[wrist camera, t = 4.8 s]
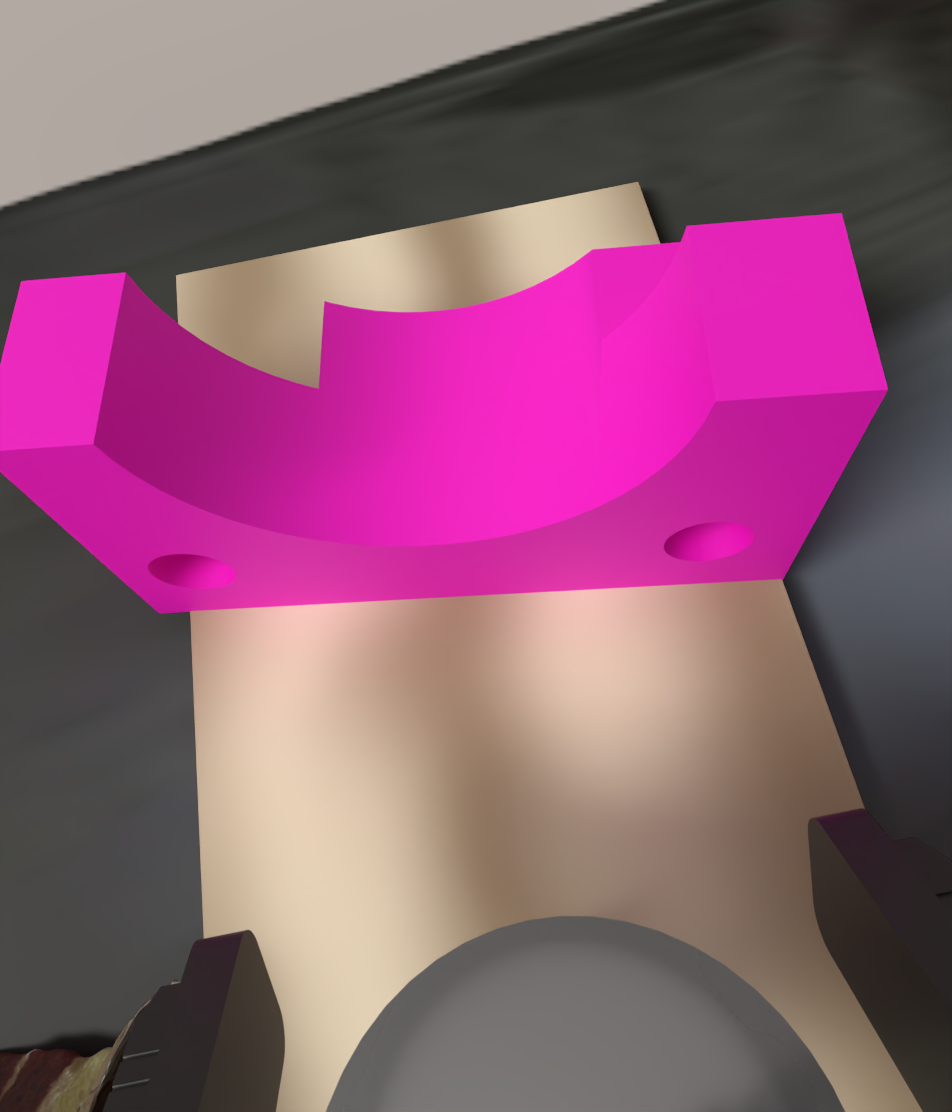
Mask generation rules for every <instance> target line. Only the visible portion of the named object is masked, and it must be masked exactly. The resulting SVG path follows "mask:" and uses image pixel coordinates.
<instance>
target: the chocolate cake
mask: <svg viewBox="0 0 952 1112" xmlns="http://www.w3.org/2000/svg"><path fill="white" fill-rule="evenodd" d="M177 983H181V982H180V981H178V980H176V979H174V980H173V982H172V983H171V985H172V984H177ZM153 997H154V996H153ZM153 997H152V998H153ZM152 998H151V999H152ZM151 999H150V1000H149V1001H147V1002H145V1003H144V1004H143V1006H142V1007H141V1009H140V1010H139V1011H138V1012H137V1013H136V1015H135V1016H134V1018H133V1020H130V1022H129V1023H128V1024H127V1025H126V1026H125V1028H124V1029H123V1030H122V1031H121V1033H120V1035H119V1037H118V1038H117V1040H116V1041H115V1043H114V1045H113V1047H107V1048H104V1049H103V1050H101V1051H99V1052H98V1053H97V1054H95V1055H93V1056H92V1057H81V1056H80V1055H79V1053H77V1052H75V1051H73V1050H70V1049H60V1048H59V1049H53V1050H49V1051H43V1050H40V1049H34V1050H32V1051H31V1052H29V1053H25V1054H15V1053H9V1052H4V1053H0V1112H102V1111H103V1108H104V1106H105V1103H106V1100H107V1097H108V1095H109V1092H112V1090H113V1087H112V1084H113V1081H114V1078H115V1075H116V1072H117V1070H118V1067H119V1064H120V1062H123V1053H124V1050H125V1048H126V1045H127V1042H128V1039H129V1037H130V1034H131V1031H132V1028H133V1026H134V1023H135V1020H136V1019H137V1017H138V1016H139V1015H140V1014H141V1012H142V1011H143V1010H144V1008H145V1007H146V1006H147V1004H148V1003H149V1002H150V1001H151Z"/></svg>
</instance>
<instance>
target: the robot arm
mask: <svg viewBox="0 0 952 1112" xmlns="http://www.w3.org/2000/svg"><path fill="white" fill-rule="evenodd" d="M808 841H809V854H810V866H811V879H812V892H813V904H814V910H815V915H816V919H817V923H818V926H819V929H820V932H821V935H822V938H823V940H824V943H825V945H826V947H827V949H828V951H829V953H830V955H831V956H832V958H833V960H834V961H835V963H836V965H837V966H838V968H839V970H840V972H841V973H842V975H843V977H844V978H845V980H846V982H847V984H848V985H849V987H850V989H851V990H852V992H853V994H854V995H855V997H856V999H857V1001H858V1002H859V1004H860V1006H861V1007H862V1009H863V1011H864V1012H865V1014H866V1016H867V1018H868V1019H869V1021H870V1023H871V1024H872V1026H873V1028H874V1029H875V1031H876V1033H877V1035H878V1036H879V1038H880V1040H881V1041H882V1043H883V1045H884V1046H885V1048H886V1050H887V1052H888V1053H889V1055H890V1057H891V1058H892V1060H893V1062H894V1063H895V1065H896V1067H897V1069H898V1070H899V1072H900V1074H901V1075H902V1077H903V1079H904V1080H905V1082H906V1084H907V1086H908V1087H909V1089H910V1091H911V1092H912V1094H913V1096H914V1097H915V1099H916V1101H917V1103H918V1104H919V1106H920V1108H921V1109H922V1111H923V1112H952V861H951V860H950V859H949V858H947V857H946V856H944V855H942V854H941V853H939V852H937V851H936V850H934V849H932V848H931V847H929V846H927V845H926V844H924V843H922V842H920V841H919V840H917V839H915V838H914V837H912V838H907V839H902V840H897V841H892V840H891V839H890V838H889V836H888V835H887V834H886V833H885V831H884V830H883V829H882V828H881V826H880V825H879V824H878V823H877V821H876V820H875V819H874V818H873V816H872V815H871V814H870V813H869V812H868V811H867V810H866V809H863V808H859V809H854V810H849V811H844V812H839V813H834V814H829V815H824V816H819V817H814V818H811V819H810V820H809V822H808ZM284 1057H285V1033H284V1024H283V1018H282V1013H281V1010H280V1006H279V1004H278V1001H277V998H276V995H275V992H274V989H273V986H272V983H271V980H270V977H269V974H268V972H267V969H266V966H265V963H264V960H263V957H262V954H261V951H260V948H259V945H258V942H257V940H256V937H255V935H254V934H253V932H252V931H250V930H244V931H239V932H234V933H229V934H224V935H219V936H214V937H209V938H204V939H199V940H197V941H196V942H195V943H194V944H193V946H192V949H191V952H190V955H189V958H188V961H187V964H186V967H185V970H184V974H183V977H182V980H181V983H177V984H172V985H167V986H162V987H161V988H160V989H159V990H158V991H157V993H156V994H155V995H154V997H153V998H152V999H151V1001H150V1002H149V1003H148V1004H147V1006H146V1007H145V1008H144V1010H143V1011H142V1012H141V1014H140V1015H139V1016H138V1017H137V1019H136V1020H135V1023H134V1026H133V1028H132V1031H131V1034H130V1037H129V1039H128V1042H127V1045H126V1048H125V1050H124V1053H123V1062H120V1064H119V1067H118V1070H117V1072H116V1075H115V1078H114V1081H113V1084H112V1087H113V1090H112V1092H109V1095H108V1097H107V1100H106V1103H105V1106H104V1108H103V1111H102V1112H276V1107H277V1101H278V1095H279V1089H280V1083H281V1076H282V1070H283V1064H284Z"/></svg>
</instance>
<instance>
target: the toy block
mask: <svg viewBox="0 0 952 1112" xmlns="http://www.w3.org/2000/svg"><path fill="white" fill-rule="evenodd" d="M887 391H888V387H887V383H886V380H885V376H884V372H883V368H882V364H881V361H880V357H879V353H878V349H877V346H876V342H875V338H874V334H873V330H872V327H871V323H870V319H869V315H868V311H867V308H866V304H865V300H864V296H863V293H862V289H861V285H860V281H859V277H858V274H857V270H856V266H855V262H854V258H853V255H852V251H851V247H850V243H849V240H848V236H847V232H846V228H845V224H844V221H843V217H842V213H838V214H826V215H814V216H802V217H789V218H777V219H765V220H753V221H741V222H729V223H717V224H705V225H693V226H687V227H686V230H685V233H684V235H683V238H682V240H681V242H676V243H664V244H652V245H639V246H627V247H615V248H603V249H592V250H591V251H590V252H588V253H587V254H586V255H584V256H583V257H582V258H580V259H579V260H578V261H576V262H575V263H573V264H572V265H570V266H569V267H567V268H565V269H564V270H562V271H561V272H559V273H557V274H556V275H554V276H552V277H550V278H548V279H546V280H544V281H542V282H540V283H538V284H536V285H534V286H532V287H530V288H527V289H525V290H522V291H520V292H517V293H515V294H512V295H509V296H506V297H503V298H500V299H496V300H493V301H490V302H486V303H481V304H477V305H473V306H469V307H462V308H456V309H449V310H441V311H428V312H390V311H375V310H368V309H361V308H354V307H348V306H344V305H339V304H334V303H330V302H326V301H324V313H323V328H322V344H321V359H320V375H319V389H318V388H314V387H310V386H306V385H303V384H299V383H295V382H292V381H289V380H286V379H283V378H280V377H277V376H274V375H271V374H269V373H266V372H264V371H261V370H259V369H256V368H254V367H251V366H249V365H247V364H245V363H243V362H241V361H238V360H236V359H234V358H232V357H230V356H228V355H226V354H224V353H223V352H221V351H219V350H217V349H216V348H214V347H212V346H210V345H209V344H207V343H205V342H204V341H202V340H201V339H199V338H198V337H196V336H195V335H193V334H192V333H190V332H189V331H187V330H186V329H184V328H183V327H182V326H180V325H179V324H178V323H177V322H175V321H174V320H173V319H172V318H170V317H169V316H168V315H167V314H165V313H164V312H163V311H162V310H161V309H160V308H159V307H158V306H157V305H156V304H155V303H153V302H152V301H151V300H150V299H149V298H148V297H147V296H146V295H145V294H144V293H143V292H142V291H141V290H140V288H139V287H138V286H137V285H136V284H135V283H134V281H133V280H132V279H131V278H130V277H129V276H128V275H127V273H114V274H102V275H90V276H78V277H66V278H54V279H42V280H30V281H21V285H20V289H19V293H18V297H17V301H16V305H15V309H14V313H13V317H12V320H11V324H10V328H9V332H8V336H7V340H6V344H5V348H4V352H3V356H2V360H1V364H0V472H1V473H2V474H3V475H4V476H6V477H7V478H8V479H9V480H10V481H11V482H12V483H13V484H15V485H16V486H17V487H18V488H19V489H20V490H21V491H22V492H23V493H25V494H26V495H27V496H28V497H29V498H30V499H31V500H32V501H34V502H35V503H36V504H37V505H38V506H39V507H40V508H41V509H43V510H44V511H45V512H46V513H47V514H48V515H49V516H50V517H52V518H53V519H54V520H55V521H56V522H57V523H58V524H59V525H61V526H62V527H63V528H64V529H65V530H66V531H67V532H68V533H70V534H71V535H72V536H73V537H74V538H75V539H76V540H77V541H78V542H80V543H81V544H82V545H83V546H84V547H85V548H86V549H87V550H89V551H90V552H91V553H92V554H93V555H94V556H95V557H96V558H98V559H99V560H100V561H101V562H102V563H103V564H104V565H105V566H107V567H108V568H109V569H110V570H111V571H112V572H113V573H114V574H116V575H117V576H118V577H119V578H120V579H121V580H122V581H123V582H125V583H126V584H127V585H128V586H129V587H130V588H131V589H132V590H134V591H135V592H136V593H137V594H138V595H139V596H140V597H141V598H142V599H144V600H145V601H146V602H147V603H148V604H149V605H150V606H151V607H153V608H154V609H155V610H156V611H157V612H158V613H175V612H190V611H204V610H222V609H240V608H259V607H277V606H296V605H314V604H333V603H351V602H370V601H388V600H407V599H425V598H444V597H462V596H481V595H499V594H518V593H536V592H555V591H573V590H591V589H610V588H628V587H647V586H665V585H684V584H702V583H721V582H739V581H758V580H776V579H784V577H785V575H786V573H787V571H788V570H789V568H790V566H791V564H792V562H793V561H794V559H795V557H796V555H797V553H798V552H799V550H800V548H801V546H802V544H803V543H804V541H805V539H806V537H807V535H808V533H809V532H810V530H811V528H812V526H813V524H814V523H815V521H816V519H817V517H818V515H819V514H820V512H821V510H822V508H823V506H824V505H825V503H826V501H827V499H828V497H829V496H830V494H831V492H832V490H833V488H834V486H835V485H836V483H837V481H838V479H839V477H840V476H841V474H842V472H843V470H844V468H845V467H846V465H847V463H848V461H849V459H850V458H851V456H852V454H853V452H854V450H855V449H856V447H857V445H858V443H859V441H860V440H861V438H862V436H863V434H864V432H865V430H866V429H867V427H868V425H869V423H870V421H871V420H872V418H873V416H874V414H875V412H876V411H877V409H878V407H879V405H880V403H881V402H882V400H883V398H884V396H885V394H886V393H887Z"/></svg>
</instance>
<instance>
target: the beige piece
mask: <svg viewBox="0 0 952 1112" xmlns="http://www.w3.org/2000/svg"><path fill="white" fill-rule="evenodd" d="M652 244H660V241H659V238H658V236H657V233H656V230H655V227H654V225H653V222H652V219H651V216H650V214H649V211H648V208H647V205H646V202H645V200H644V197H643V194H642V191H641V189H640V186H639V183H638V182H635V183H630V184H625V185H620V186H615V187H610V188H605V189H600V190H595V191H591V192H586V193H581V194H576V195H571V196H566V197H561V198H556V199H551V200H546V201H541V202H536V203H531V204H526V205H521V206H516V207H512V208H507V209H502V210H497V211H492V212H487V213H482V214H477V215H472V216H467V217H462V218H457V219H452V220H447V221H442V222H437V223H433V224H428V225H423V226H418V227H413V228H408V229H403V230H398V231H393V232H388V233H383V234H378V235H373V236H368V237H363V238H358V239H353V240H349V241H344V242H339V243H334V244H329V245H324V246H319V247H314V248H309V249H304V250H299V251H294V252H289V253H284V254H279V255H274V256H270V257H265V258H260V259H255V260H250V261H245V262H240V263H235V264H230V265H225V266H220V267H215V268H210V269H205V270H200V271H195V272H191V273H186V274H181V275H176V282H177V305H178V324H179V325H180V326H182V327H183V328H184V329H186V330H187V331H189V332H190V333H192V334H193V335H195V336H196V337H198V338H199V339H201V340H202V341H204V342H205V343H207V344H209V345H210V346H212V347H214V348H216V349H217V350H219V351H221V352H223V353H224V354H226V355H228V356H230V357H232V358H234V359H236V360H238V361H241V362H243V363H245V364H247V365H249V366H251V367H254V368H256V369H259V370H261V371H264V372H266V373H269V374H271V375H274V376H277V377H280V378H283V379H286V380H289V381H292V382H295V383H299V384H303V385H306V386H310V387H314V388H318V389H319V375H320V359H321V344H322V328H323V313H324V301H326V302H330V303H334V304H339V305H344V306H348V307H354V308H361V309H368V310H375V311H390V312H428V311H441V310H449V309H456V308H462V307H469V306H473V305H477V304H481V303H486V302H490V301H493V300H496V299H500V298H503V297H506V296H509V295H512V294H515V293H517V292H520V291H522V290H525V289H527V288H530V287H532V286H534V285H536V284H538V283H540V282H542V281H544V280H546V279H548V278H550V277H552V276H554V275H556V274H557V273H559V272H561V271H562V270H564V269H565V268H567V267H569V266H570V265H572V264H573V263H575V262H576V261H578V260H579V259H580V258H582V257H583V256H584V255H586V254H587V253H588V252H590V251H591V250H592V249H603V248H615V247H627V246H639V245H652ZM190 617H191V641H192V664H193V688H194V712H195V736H196V760H197V784H198V808H199V832H200V856H201V880H202V904H203V928H204V938H209V937H214V936H219V935H224V934H229V933H234V932H239V931H244V930H250V931H252V932H253V934H254V935H255V937H256V940H257V942H258V945H259V948H260V951H261V954H262V957H263V960H264V963H265V966H266V969H267V972H268V974H269V977H270V980H271V983H272V986H273V989H274V992H275V995H276V998H277V1001H278V1004H279V1006H280V1010H281V1013H282V1018H283V1024H284V1033H285V1057H284V1064H283V1070H282V1076H281V1083H280V1089H279V1095H278V1101H277V1107H276V1112H923V1111H922V1109H921V1108H920V1106H919V1104H918V1103H917V1101H916V1099H915V1097H914V1096H913V1094H912V1092H911V1091H910V1089H909V1087H908V1086H907V1084H906V1082H905V1080H904V1079H903V1077H902V1075H901V1074H900V1072H899V1070H898V1069H897V1067H896V1065H895V1063H894V1062H893V1060H892V1058H891V1057H890V1055H889V1053H888V1052H887V1050H886V1048H885V1046H884V1045H883V1043H882V1041H881V1040H880V1038H879V1036H878V1035H877V1033H876V1031H875V1029H874V1028H873V1026H872V1024H871V1023H870V1021H869V1019H868V1018H867V1016H866V1014H865V1012H864V1011H863V1009H862V1007H861V1006H860V1004H859V1002H858V1001H857V999H856V997H855V995H854V994H853V992H852V990H851V989H850V987H849V985H848V984H847V982H846V980H845V978H844V977H843V975H842V973H841V972H840V970H839V968H838V966H837V965H836V963H835V961H834V960H833V958H832V956H831V955H830V953H829V951H828V949H827V947H826V945H825V943H824V940H823V938H822V935H821V932H820V929H819V926H818V923H817V919H816V915H815V910H814V904H813V892H812V879H811V866H810V854H809V841H808V822H809V820H810V819H811V818H814V817H819V816H824V815H829V814H834V813H839V812H844V811H849V810H854V809H859V808H863V809H865V808H864V805H863V802H862V799H861V796H860V794H859V791H858V788H857V785H856V783H855V780H854V777H853V774H852V772H851V769H850V766H849V763H848V761H847V758H846V755H845V752H844V750H843V747H842V744H841V741H840V738H839V736H838V733H837V730H836V727H835V725H834V722H833V719H832V716H831V714H830V711H829V708H828V705H827V703H826V700H825V697H824V694H823V691H822V689H821V686H820V683H819V680H818V678H817V675H816V672H815V669H814V667H813V664H812V661H811V658H810V656H809V653H808V650H807V647H806V645H805V642H804V639H803V636H802V633H801V631H800V628H799V625H798V622H797V620H796V617H795V614H794V611H793V609H792V606H791V603H790V600H789V598H788V595H787V592H786V589H785V586H784V584H783V581H782V579H776V580H758V581H739V582H721V583H702V584H684V585H665V586H647V587H628V588H610V589H591V590H573V591H555V592H536V593H518V594H499V595H481V596H462V597H444V598H425V599H407V600H388V601H370V602H351V603H333V604H314V605H296V606H277V607H259V608H240V609H222V610H204V611H190Z"/></svg>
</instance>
